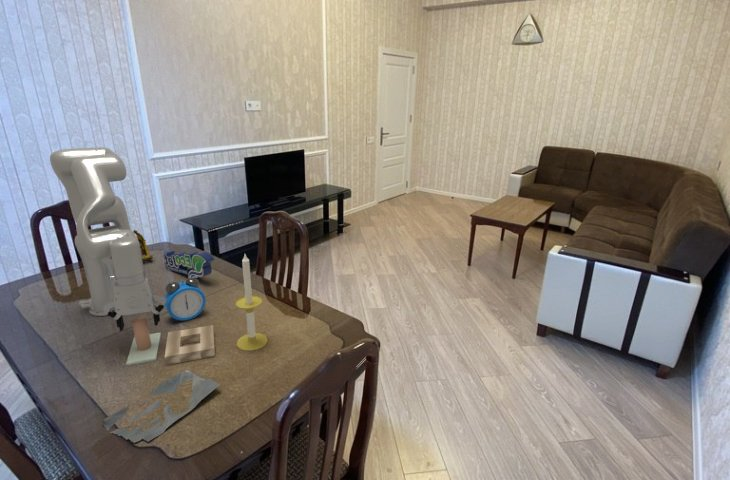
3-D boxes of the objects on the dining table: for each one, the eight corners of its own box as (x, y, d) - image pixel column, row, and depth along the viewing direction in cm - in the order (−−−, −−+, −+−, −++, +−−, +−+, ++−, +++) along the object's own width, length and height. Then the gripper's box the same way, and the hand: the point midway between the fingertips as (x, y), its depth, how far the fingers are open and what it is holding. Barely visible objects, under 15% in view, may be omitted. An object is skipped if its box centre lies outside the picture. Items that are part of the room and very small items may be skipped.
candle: (241, 354, 125) (232, 261, 114) (233, 338, 133) (224, 250, 122) (271, 345, 130) (266, 255, 119) (262, 330, 138) (255, 245, 127)
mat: (126, 365, 118) (126, 363, 118) (134, 338, 131) (134, 336, 131) (156, 360, 121) (155, 358, 121) (160, 334, 134) (160, 332, 134)
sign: (167, 274, 185) (161, 246, 181) (175, 271, 188) (169, 244, 184) (210, 285, 165) (204, 255, 161) (218, 282, 168) (213, 253, 164)
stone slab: (136, 458, 90) (133, 451, 89) (101, 429, 98) (98, 422, 97) (221, 390, 109) (220, 384, 108) (186, 371, 117) (184, 365, 116)
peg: (136, 351, 123) (130, 324, 120) (138, 344, 127) (132, 318, 123) (150, 349, 125) (145, 322, 121) (152, 342, 128) (147, 315, 125)
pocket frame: (165, 365, 119) (164, 357, 118) (169, 340, 131) (168, 332, 130) (214, 356, 124) (213, 348, 123) (213, 332, 136) (212, 325, 135)
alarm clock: (170, 326, 139) (164, 288, 134) (166, 318, 143) (160, 281, 138) (207, 315, 147) (203, 279, 141) (202, 308, 151) (198, 273, 146)
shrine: (129, 260, 192) (123, 231, 187) (146, 255, 198) (141, 227, 193) (140, 266, 185) (134, 237, 180) (157, 261, 191) (152, 232, 186)
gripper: (93, 286, 111) (105, 337, 117) (161, 279, 117) (169, 327, 123) (100, 275, 118) (110, 324, 124) (163, 269, 124) (170, 315, 130)
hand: (139, 325), depth 124 cm, fingers open, 9 cm apart
